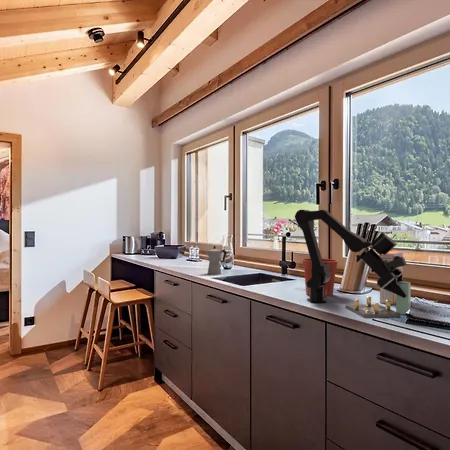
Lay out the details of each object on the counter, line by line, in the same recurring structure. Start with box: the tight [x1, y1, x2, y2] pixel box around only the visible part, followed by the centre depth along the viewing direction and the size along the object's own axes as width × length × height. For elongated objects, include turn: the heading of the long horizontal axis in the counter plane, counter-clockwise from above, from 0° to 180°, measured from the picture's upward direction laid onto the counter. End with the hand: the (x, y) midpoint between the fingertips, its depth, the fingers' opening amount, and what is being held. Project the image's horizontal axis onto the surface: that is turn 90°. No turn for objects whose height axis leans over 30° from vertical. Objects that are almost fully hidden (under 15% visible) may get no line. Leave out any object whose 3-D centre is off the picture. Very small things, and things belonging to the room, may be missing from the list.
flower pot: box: [301, 258, 339, 298], centre depth 171 cm, size 16×16×16 cm
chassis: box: [344, 296, 401, 319], centre depth 137 cm, size 15×14×5 cm
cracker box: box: [378, 250, 404, 305], centre depth 157 cm, size 14×6×21 cm, turn 140°
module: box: [395, 280, 412, 315], centre depth 136 cm, size 4×5×11 cm
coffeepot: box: [205, 245, 228, 276], centre depth 241 cm, size 15×9×18 cm, turn 118°
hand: (407, 295), depth 135 cm, fingers open, 8 cm apart
